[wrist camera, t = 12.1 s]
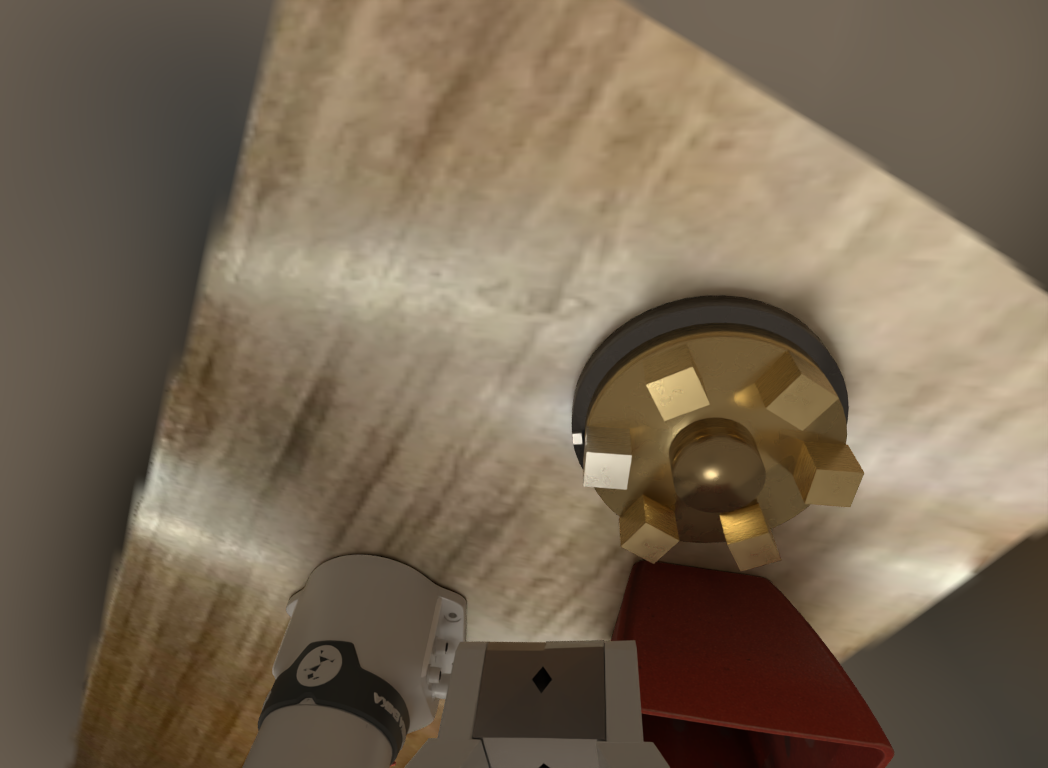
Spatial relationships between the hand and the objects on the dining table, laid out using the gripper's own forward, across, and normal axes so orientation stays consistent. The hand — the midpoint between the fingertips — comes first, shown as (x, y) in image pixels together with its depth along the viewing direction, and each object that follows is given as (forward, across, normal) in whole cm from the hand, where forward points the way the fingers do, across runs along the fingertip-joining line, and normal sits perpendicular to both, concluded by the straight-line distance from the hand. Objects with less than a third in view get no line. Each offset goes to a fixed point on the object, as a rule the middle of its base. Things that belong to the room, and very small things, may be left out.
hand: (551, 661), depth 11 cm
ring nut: (+32, +8, -19) cm, 38 cm away
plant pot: (+34, +7, -42) cm, 55 cm away
